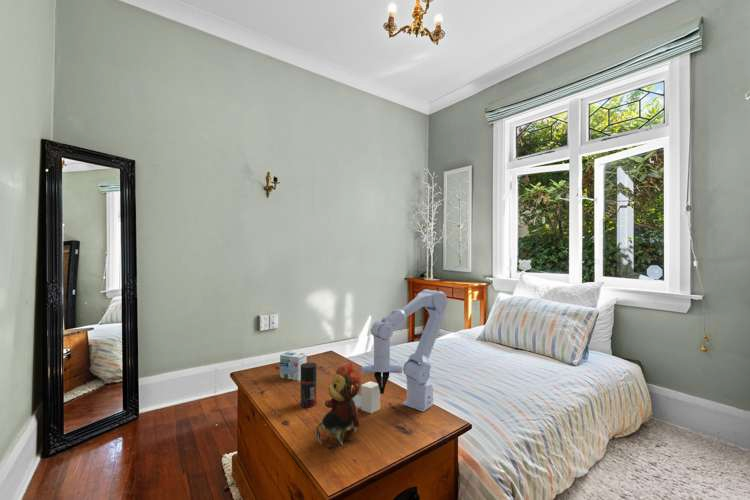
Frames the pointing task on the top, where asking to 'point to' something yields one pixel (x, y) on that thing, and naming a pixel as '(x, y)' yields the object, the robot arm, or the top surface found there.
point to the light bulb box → (292, 365)
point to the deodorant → (308, 385)
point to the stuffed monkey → (342, 402)
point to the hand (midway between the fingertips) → (381, 392)
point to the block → (370, 397)
